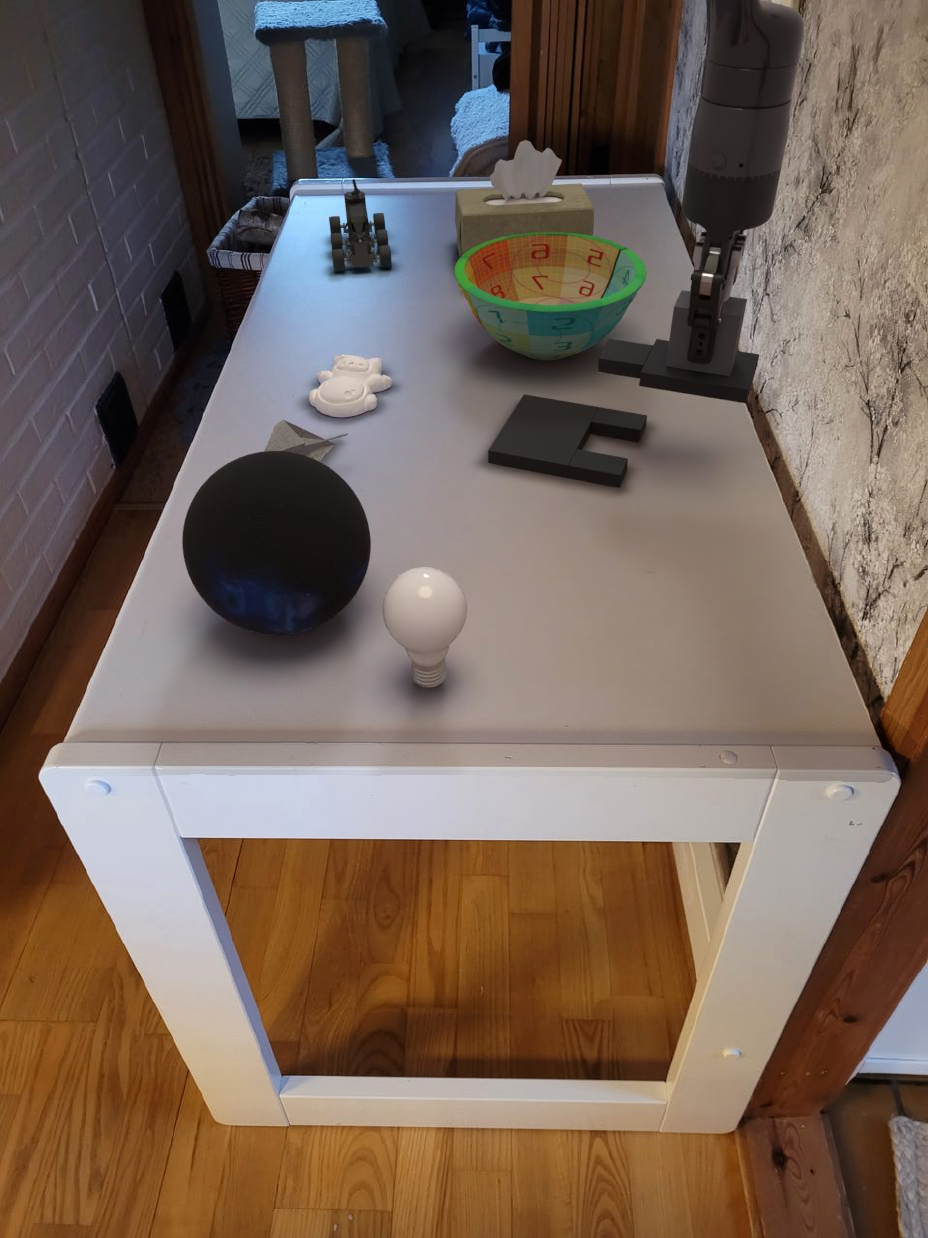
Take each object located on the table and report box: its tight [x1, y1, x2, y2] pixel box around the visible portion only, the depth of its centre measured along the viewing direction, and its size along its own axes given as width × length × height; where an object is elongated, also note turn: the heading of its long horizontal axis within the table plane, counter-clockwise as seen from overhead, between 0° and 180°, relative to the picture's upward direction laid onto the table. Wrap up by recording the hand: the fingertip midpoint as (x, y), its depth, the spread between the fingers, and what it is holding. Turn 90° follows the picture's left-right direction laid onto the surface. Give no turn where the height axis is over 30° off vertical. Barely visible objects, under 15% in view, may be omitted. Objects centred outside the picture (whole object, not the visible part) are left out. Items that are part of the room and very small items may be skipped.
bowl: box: [453, 232, 648, 361], centre depth 114 cm, size 22×22×10 cm
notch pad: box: [487, 393, 648, 488], centre depth 101 cm, size 14×12×2 cm
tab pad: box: [597, 289, 760, 404], centre depth 89 cm, size 14×7×8 cm, turn 70°
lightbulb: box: [381, 566, 468, 688], centre depth 73 cm, size 6×6×11 cm
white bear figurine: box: [308, 353, 393, 418], centre depth 110 cm, size 9×12×3 cm
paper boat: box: [263, 419, 349, 462], centre depth 97 cm, size 12×6×9 cm
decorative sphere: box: [181, 451, 372, 636], centre depth 78 cm, size 15×15×15 cm
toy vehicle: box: [328, 178, 393, 273], centre depth 137 cm, size 8×15×9 cm, turn 8°
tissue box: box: [454, 139, 595, 259], centre depth 133 cm, size 19×10×16 cm, turn 95°
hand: (703, 350), depth 89 cm, fingers closed on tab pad, 3 cm apart
